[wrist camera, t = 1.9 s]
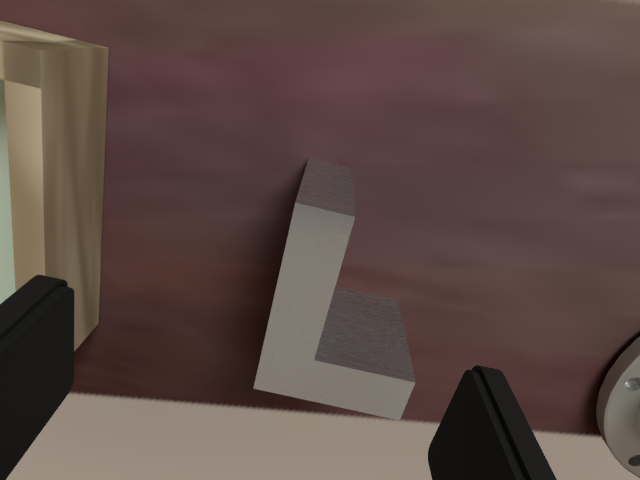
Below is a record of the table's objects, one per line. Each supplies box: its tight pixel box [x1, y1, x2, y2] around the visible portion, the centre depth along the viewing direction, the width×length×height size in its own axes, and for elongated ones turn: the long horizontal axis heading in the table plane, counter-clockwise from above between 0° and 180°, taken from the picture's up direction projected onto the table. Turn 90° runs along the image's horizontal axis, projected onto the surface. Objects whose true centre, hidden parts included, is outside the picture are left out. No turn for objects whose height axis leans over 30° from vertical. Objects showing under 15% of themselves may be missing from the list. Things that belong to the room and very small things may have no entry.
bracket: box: [253, 158, 415, 420], centre depth 19 cm, size 8×6×6 cm
